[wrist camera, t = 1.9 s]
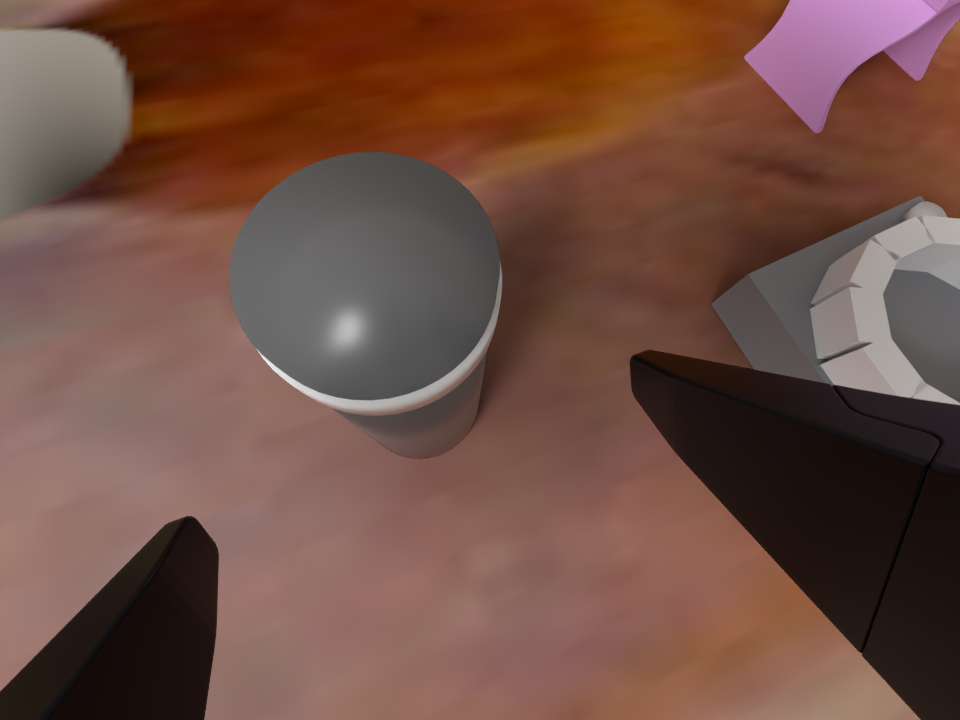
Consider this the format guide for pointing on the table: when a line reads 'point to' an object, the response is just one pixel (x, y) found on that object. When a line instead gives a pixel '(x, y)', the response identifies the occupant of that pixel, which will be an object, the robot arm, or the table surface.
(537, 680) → the table surface
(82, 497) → the table surface
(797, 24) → the toy chair
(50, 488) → the table surface
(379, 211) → the grey domed cylinder
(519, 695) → the table surface
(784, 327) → the ringed square flange
